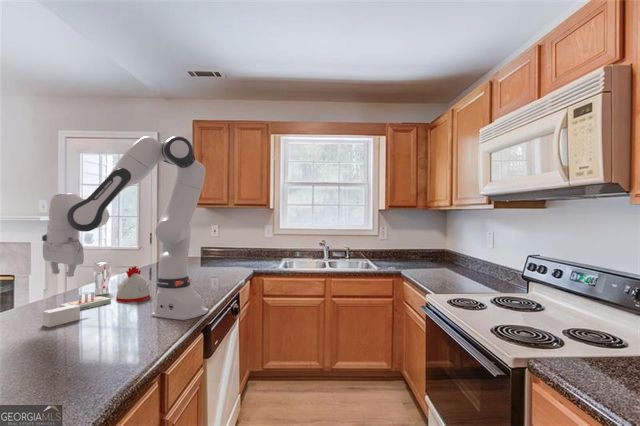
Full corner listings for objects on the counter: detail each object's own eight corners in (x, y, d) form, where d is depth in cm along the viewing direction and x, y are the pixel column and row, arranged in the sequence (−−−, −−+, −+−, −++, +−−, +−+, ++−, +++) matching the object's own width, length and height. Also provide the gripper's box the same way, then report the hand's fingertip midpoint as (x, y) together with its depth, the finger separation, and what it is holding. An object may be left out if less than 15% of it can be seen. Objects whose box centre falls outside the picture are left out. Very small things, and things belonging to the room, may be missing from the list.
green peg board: (110, 303, 149) (110, 290, 149) (70, 312, 135) (70, 298, 135) (99, 300, 153) (100, 288, 153) (59, 309, 138) (59, 296, 138)
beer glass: (113, 292, 167) (114, 262, 167) (100, 295, 161) (100, 264, 161) (103, 291, 170) (103, 261, 169) (89, 294, 163) (90, 263, 163)
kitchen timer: (108, 301, 152) (109, 268, 152) (131, 294, 166) (132, 263, 166) (134, 303, 149) (135, 270, 149) (156, 296, 163) (157, 265, 163)
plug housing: (92, 316, 131) (92, 303, 131) (48, 327, 118) (49, 312, 118) (86, 314, 133) (86, 301, 132) (42, 325, 120) (43, 311, 120)
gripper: (89, 238, 121) (88, 276, 121) (58, 235, 130) (57, 271, 130) (70, 239, 116) (69, 279, 116) (39, 236, 125) (38, 273, 125)
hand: (62, 275), depth 123 cm, fingers open, 8 cm apart
